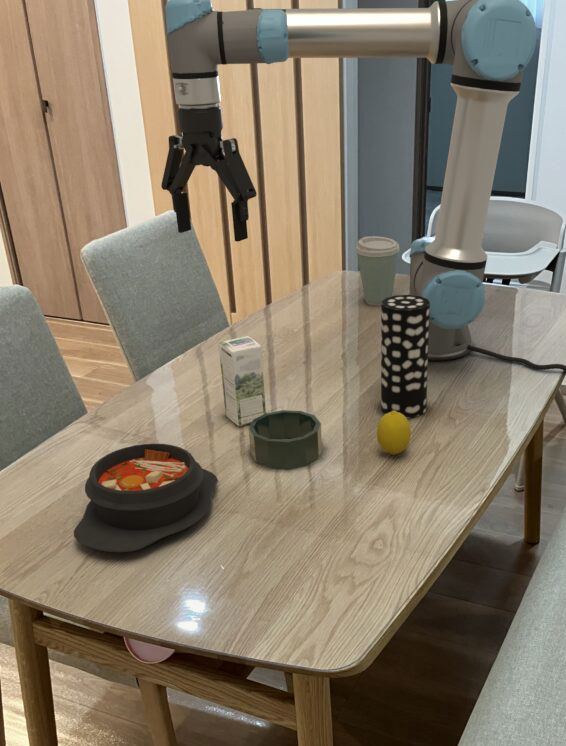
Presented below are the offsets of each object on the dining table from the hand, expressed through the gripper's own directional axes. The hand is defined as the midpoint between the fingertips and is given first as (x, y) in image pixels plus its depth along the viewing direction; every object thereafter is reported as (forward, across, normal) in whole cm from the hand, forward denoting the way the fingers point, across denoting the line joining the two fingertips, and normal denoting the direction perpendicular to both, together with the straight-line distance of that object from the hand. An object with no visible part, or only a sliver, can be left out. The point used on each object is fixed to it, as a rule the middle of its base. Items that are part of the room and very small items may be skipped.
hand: (212, 235), depth 150 cm
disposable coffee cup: (+29, 0, +57) cm, 64 cm away
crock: (+29, +28, -18) cm, 44 cm away
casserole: (+29, +23, -44) cm, 58 cm away
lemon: (+29, +44, -9) cm, 53 cm away
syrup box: (+29, +14, -11) cm, 34 cm away
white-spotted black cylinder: (+29, +36, +7) cm, 47 cm away
